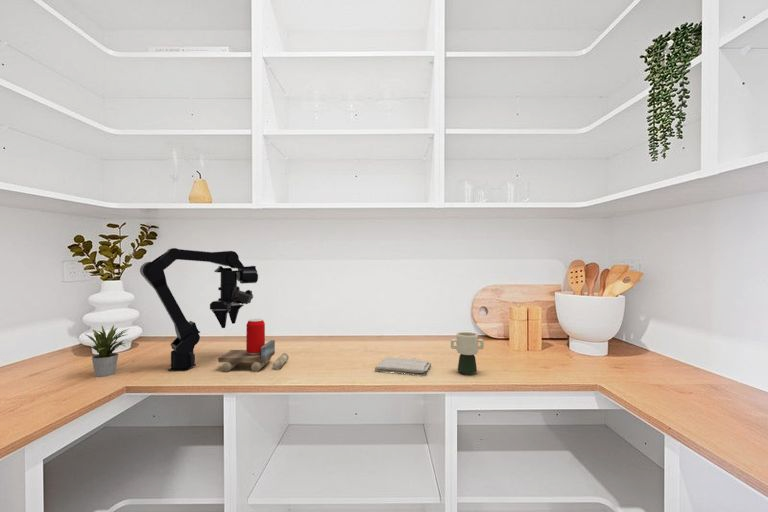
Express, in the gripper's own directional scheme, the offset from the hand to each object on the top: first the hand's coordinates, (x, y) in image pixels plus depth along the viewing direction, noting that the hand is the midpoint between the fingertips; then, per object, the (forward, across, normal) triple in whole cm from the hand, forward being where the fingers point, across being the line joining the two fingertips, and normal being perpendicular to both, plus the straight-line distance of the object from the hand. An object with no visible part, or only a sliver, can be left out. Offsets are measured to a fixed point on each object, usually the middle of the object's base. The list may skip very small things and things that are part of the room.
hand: (228, 325), depth 139 cm
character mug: (+13, -17, -86) cm, 89 cm away
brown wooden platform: (+13, -8, -10) cm, 18 cm away
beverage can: (+9, -8, -13) cm, 17 cm away
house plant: (+13, -17, +33) cm, 39 cm away
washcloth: (+14, -12, -65) cm, 68 cm away
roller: (+13, -7, -22) cm, 26 cm away
